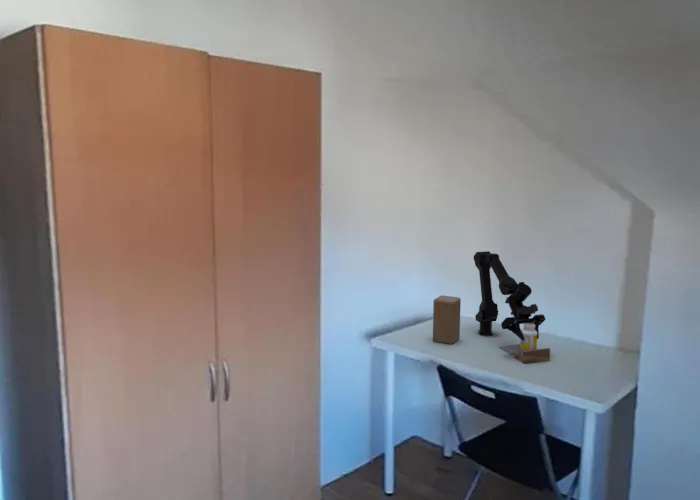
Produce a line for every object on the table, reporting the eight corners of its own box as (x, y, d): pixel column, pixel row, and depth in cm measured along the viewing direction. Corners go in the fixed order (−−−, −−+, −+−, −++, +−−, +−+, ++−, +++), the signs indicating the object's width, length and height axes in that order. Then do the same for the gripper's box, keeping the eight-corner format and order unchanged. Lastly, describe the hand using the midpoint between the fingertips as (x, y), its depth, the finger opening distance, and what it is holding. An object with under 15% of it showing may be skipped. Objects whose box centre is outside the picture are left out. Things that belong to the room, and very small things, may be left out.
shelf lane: (514, 357, 253) (514, 346, 252) (539, 354, 257) (539, 343, 256) (523, 363, 246) (524, 351, 245) (549, 360, 250) (550, 348, 249)
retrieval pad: (499, 347, 266) (499, 346, 266) (518, 345, 269) (518, 344, 269) (511, 354, 257) (511, 353, 256) (532, 352, 260) (532, 351, 259)
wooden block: (452, 345, 270) (453, 302, 266) (431, 341, 275) (432, 299, 271) (460, 339, 278) (461, 297, 275) (439, 335, 283) (440, 294, 280)
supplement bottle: (533, 350, 257) (535, 322, 255) (538, 356, 250) (540, 326, 248) (517, 350, 257) (519, 321, 255) (522, 356, 251) (523, 326, 248)
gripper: (506, 299, 251) (519, 332, 242) (544, 296, 256) (559, 328, 248) (495, 312, 259) (508, 345, 251) (532, 309, 265) (546, 340, 256)
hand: (530, 339), depth 251 cm, fingers closed on supplement bottle, 7 cm apart
